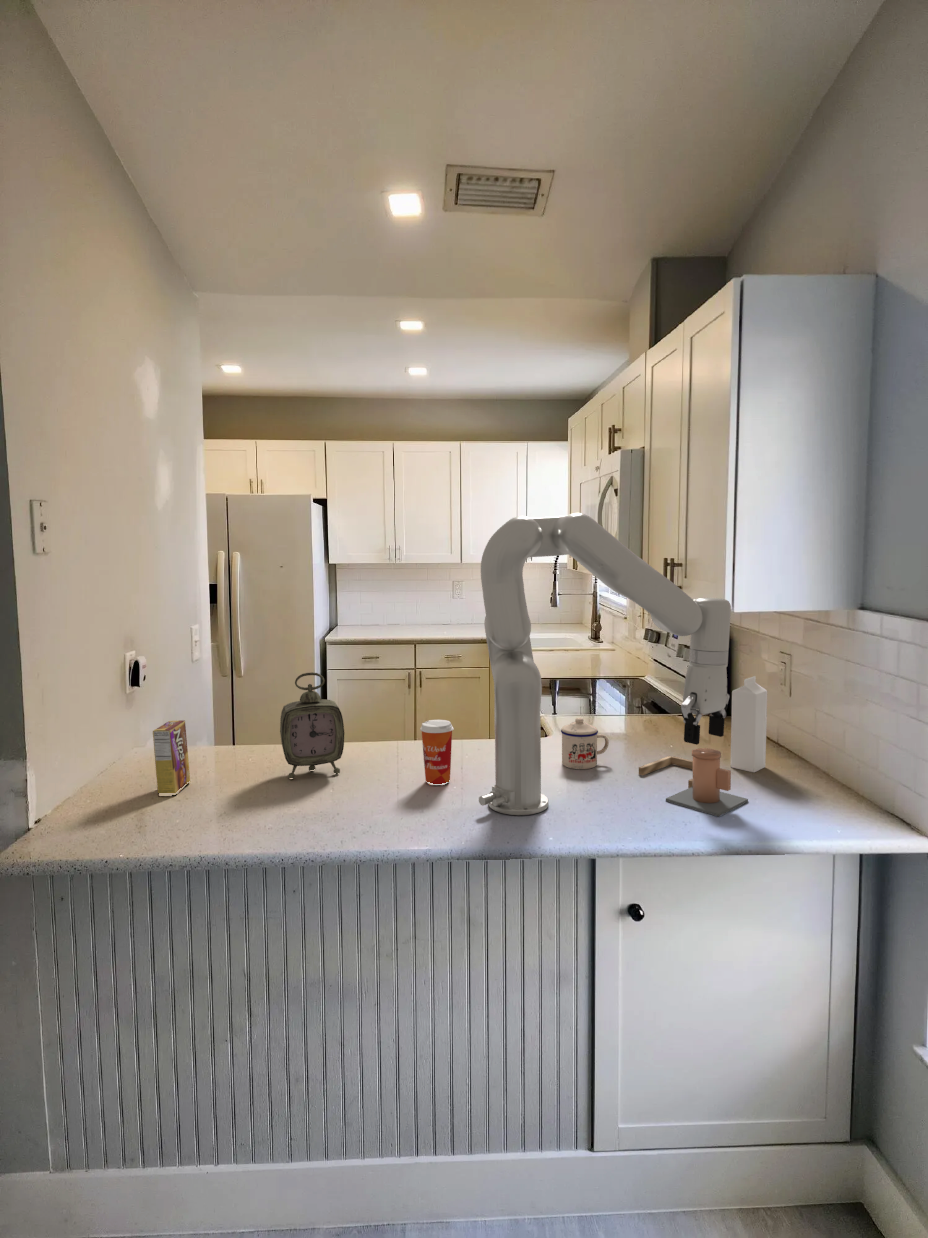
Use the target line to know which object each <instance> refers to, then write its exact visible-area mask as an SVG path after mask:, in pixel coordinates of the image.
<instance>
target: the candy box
mask: <svg viewBox="0 0 928 1238" xmlns="http://www.w3.org/2000/svg"><path fill="white" fill-rule="evenodd" d="M152 737H153V738H152V739H153V740H152V741H153V749H154V751H153V752H154V761H155V762H154V764H155V776H156V777H155V778H156V786H157V794H158V793H176V792H177V791H178V790H179V789H180V788H182V787H183V786H184V785H185V784H187V782H189V781H190V782H191V775H190V762H189V753H188V752H189V751H188V740H187V738H188V737H187V729H186V720H184V719H182V720H169V721H166V722H165V723H163V724H161V725H160V726H158V727H156V728H155V729H154V730H152Z"/></svg>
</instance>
